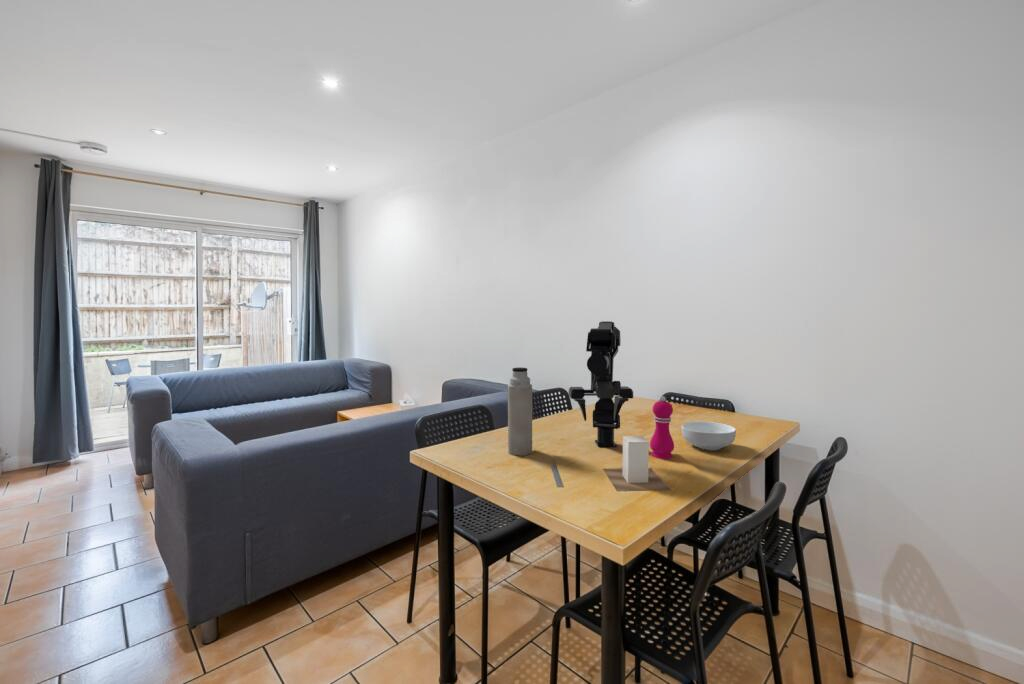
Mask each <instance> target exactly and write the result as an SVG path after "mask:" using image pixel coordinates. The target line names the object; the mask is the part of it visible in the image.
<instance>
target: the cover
mask: <svg viewBox="0 0 1024 684" xmlns="http://www.w3.org/2000/svg"><path fill="white" fill-rule="evenodd" d="M649 447H650V441H649V440H648V439H646V438H645V437H644V436H643V435H623V436H622V475H623V477H624V478H625V480H626V481H627V482H628V483H646V482H648V468H649V461H650V460H649V454H650V452H649V451H650V448H649Z"/></svg>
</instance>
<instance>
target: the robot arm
mask: <svg viewBox="0 0 1024 684" xmlns="http://www.w3.org/2000/svg"><path fill="white" fill-rule="evenodd" d="M621 344H622V343H621V330H620V329H619V328H617V327H616V325H615V322H613V321H610V320H609V321H608V320H607V321H605V320H603V321H600V322H598V327H597V328H593V327H592V328H591V329H590V330H589V331H588V332H587V339H586V348H585V350H586V352H590V353H591V355H590V356H589V357H588V358H587V360H586V367H587V370H588V371H589V372H590V389H584V388H583V386H570V387H569V388H568V397H569V398H570V399H571V400H572V399H573V400H574V402H577V404H578V406H579V409H580V411H581V414H582V418H583V420H584V421H585V422H586V421H587V412H586V409H587V408H586V399H585V396H586V397H590V396H591V397H592V396H595V397H597V398H598V399H597V401H596V402H595V404H594V409H593V410H592V428H593V429H594V428H597V432H596V433H597V434H596V435H597V436H596V437H597V438H596V439H594V443H595V445H597V447H598V448H599V447H600V448H602V447H603V448H605V447H608V448H609V447H613V448H614V447H616V448H617V447H618V444H617V443H616V442H615V430H618V429H620V428H621V415H620V414H619V413H620V411H621V409H622V407H623V404H625V403H626V402H629V400H630V399H634V390H633V389H632V388H630V387H629V386H625V385H624V386H622V385H621V381H620V380H614V360H615V359H614V358H615V357H616V356H617V354H618V353H619V347H621ZM613 398H614V399H613Z"/></svg>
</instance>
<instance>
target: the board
mask: <svg viewBox="0 0 1024 684" xmlns="http://www.w3.org/2000/svg"><path fill="white" fill-rule="evenodd" d="M602 470H603V472H604V474H606V476H607V478H608V479H609V481H610V482H611V484H612V486H613V487H614V489H615V491H616V492H642V491H643V492H644V491H645V492H649V491H650V492H651V491H652V492H653V491H659V492H660V491H662V492H663V491H672V489H671V488H670V486H668V485H667V484H666V482H665V481H663V479H662V478H661V477H660V476H659V475H658V474H657V473H656V472H655V471H654V470H653V468H652V467H648V482H646V483H628V482H627V481H626V480H625V478H624V477H623V475H622V468H619V467H618V468H602Z"/></svg>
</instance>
